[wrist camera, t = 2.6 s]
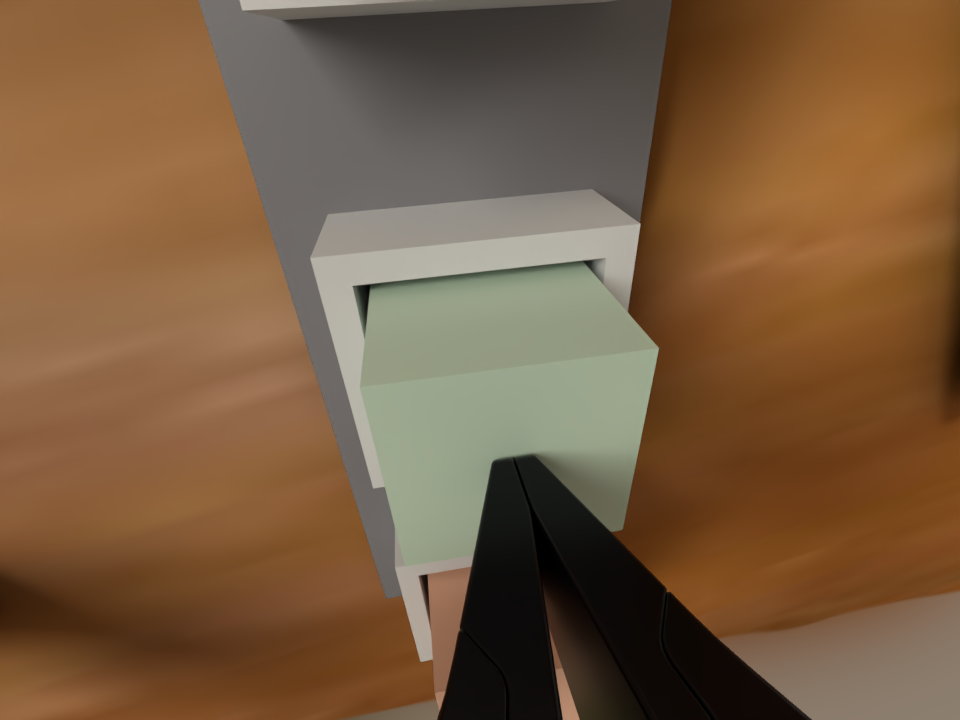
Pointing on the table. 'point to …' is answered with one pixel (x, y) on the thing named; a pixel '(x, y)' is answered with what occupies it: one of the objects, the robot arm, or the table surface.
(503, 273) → the sage button
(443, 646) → the terracotta button
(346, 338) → the button panel
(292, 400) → the table surface
